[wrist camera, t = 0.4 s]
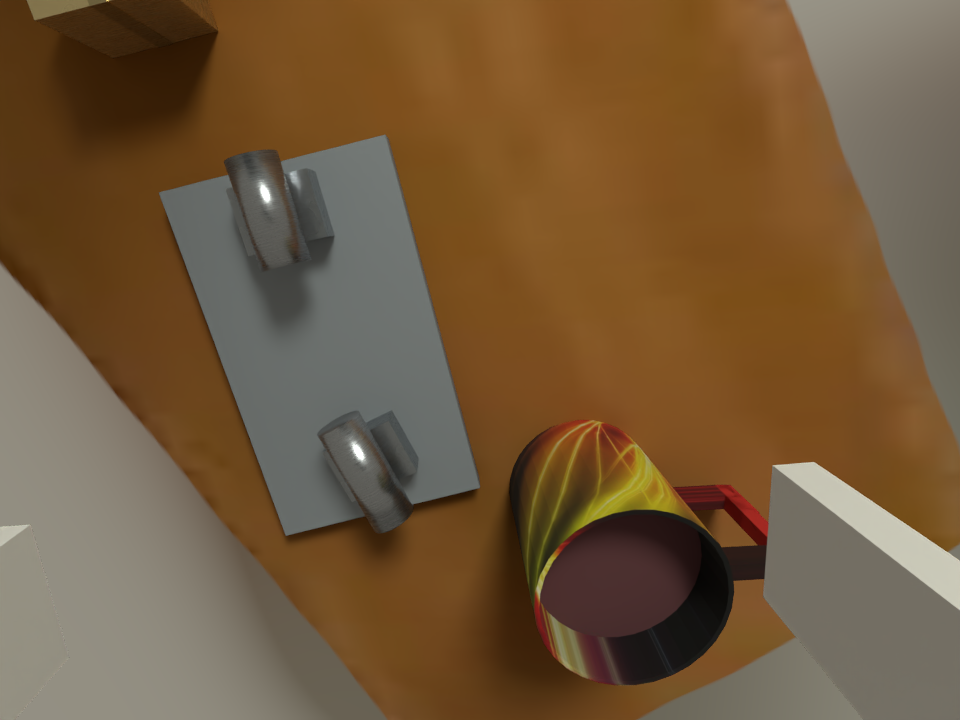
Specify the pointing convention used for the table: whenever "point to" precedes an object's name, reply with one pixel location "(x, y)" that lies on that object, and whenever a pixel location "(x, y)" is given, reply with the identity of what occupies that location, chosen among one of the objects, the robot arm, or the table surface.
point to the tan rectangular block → (125, 22)
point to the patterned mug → (624, 555)
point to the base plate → (328, 333)
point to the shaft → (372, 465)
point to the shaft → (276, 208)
